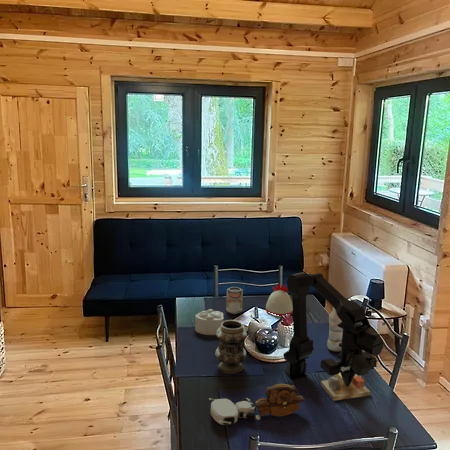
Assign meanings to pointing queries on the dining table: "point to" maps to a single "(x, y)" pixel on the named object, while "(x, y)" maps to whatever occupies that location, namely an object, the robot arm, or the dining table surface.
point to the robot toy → (232, 410)
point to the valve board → (344, 393)
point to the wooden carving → (279, 400)
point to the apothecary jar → (231, 346)
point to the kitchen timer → (279, 302)
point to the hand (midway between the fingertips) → (346, 386)
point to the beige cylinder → (234, 300)
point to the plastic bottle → (334, 332)
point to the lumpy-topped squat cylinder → (208, 322)
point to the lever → (358, 382)
